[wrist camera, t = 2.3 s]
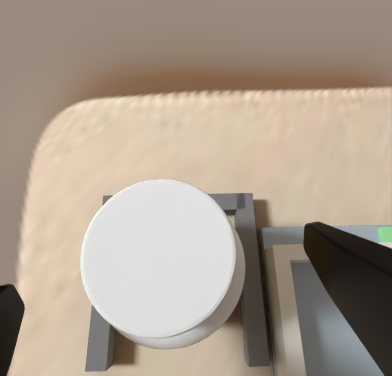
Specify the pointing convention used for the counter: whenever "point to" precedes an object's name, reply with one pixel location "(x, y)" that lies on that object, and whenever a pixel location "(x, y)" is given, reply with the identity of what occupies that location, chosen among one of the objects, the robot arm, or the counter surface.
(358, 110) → the counter surface
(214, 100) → the counter surface
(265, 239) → the panel
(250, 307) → the holster cradle
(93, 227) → the supplement bottle
